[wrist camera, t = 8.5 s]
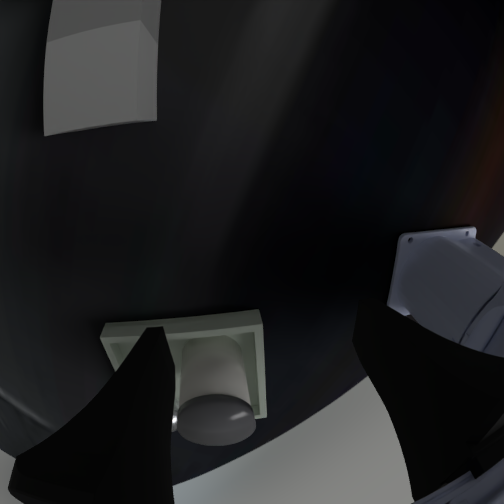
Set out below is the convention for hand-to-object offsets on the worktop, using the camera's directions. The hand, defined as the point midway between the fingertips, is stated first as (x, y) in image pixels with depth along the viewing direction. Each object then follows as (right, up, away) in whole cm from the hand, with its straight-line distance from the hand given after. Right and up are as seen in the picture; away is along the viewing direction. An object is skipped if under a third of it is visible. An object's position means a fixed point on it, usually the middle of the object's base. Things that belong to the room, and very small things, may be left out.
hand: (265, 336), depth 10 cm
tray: (-6, -7, +14) cm, 16 cm away
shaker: (-4, -5, +12) cm, 14 cm away
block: (-8, +20, +1) cm, 21 cm away
